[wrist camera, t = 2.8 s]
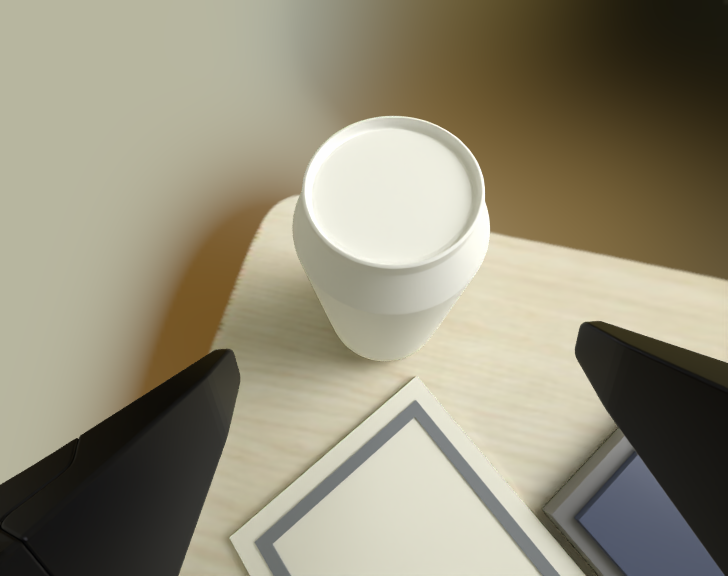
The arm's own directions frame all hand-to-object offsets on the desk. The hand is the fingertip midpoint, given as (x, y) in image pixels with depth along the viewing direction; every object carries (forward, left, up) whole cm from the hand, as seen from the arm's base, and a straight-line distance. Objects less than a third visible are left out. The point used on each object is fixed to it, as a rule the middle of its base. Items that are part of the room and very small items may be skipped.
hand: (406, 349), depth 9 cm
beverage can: (+2, +3, -11) cm, 12 cm away
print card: (-5, -7, -11) cm, 13 cm away
